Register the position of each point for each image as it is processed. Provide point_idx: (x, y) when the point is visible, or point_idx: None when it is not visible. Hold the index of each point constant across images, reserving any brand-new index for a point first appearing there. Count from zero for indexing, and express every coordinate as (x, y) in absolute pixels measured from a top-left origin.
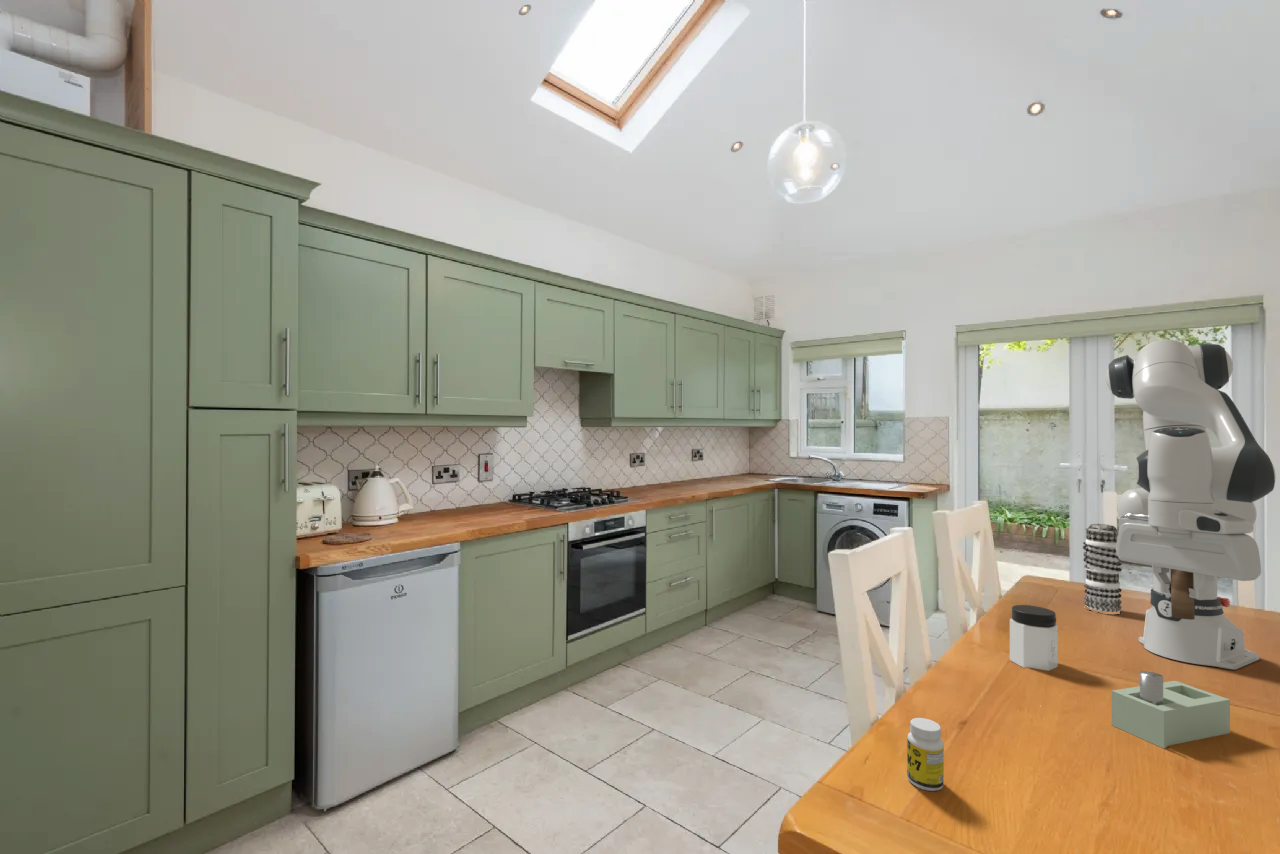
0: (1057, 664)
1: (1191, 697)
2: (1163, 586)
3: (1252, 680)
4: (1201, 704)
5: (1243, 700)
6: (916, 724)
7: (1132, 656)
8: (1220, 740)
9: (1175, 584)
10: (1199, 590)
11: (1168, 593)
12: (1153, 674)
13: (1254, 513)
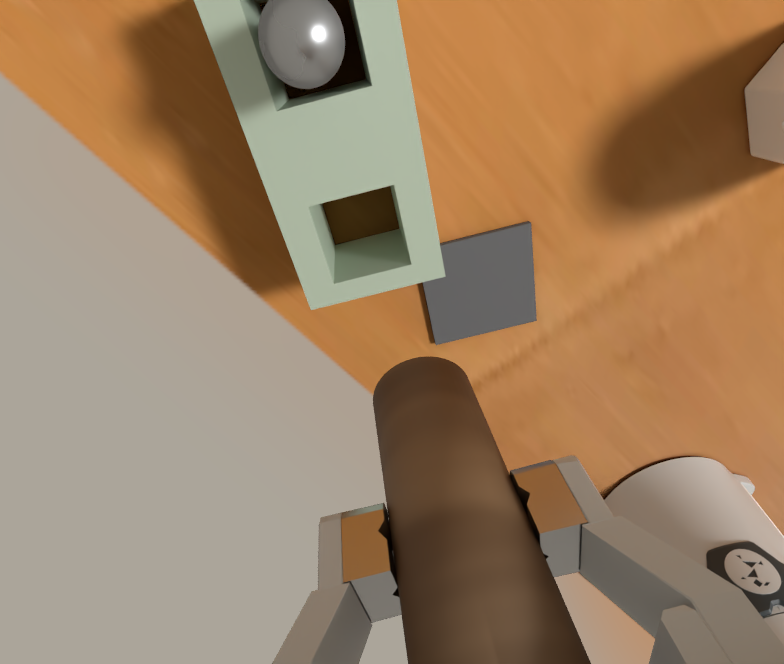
0: (758, 153)
1: (383, 259)
2: (575, 496)
3: None
4: (267, 191)
5: None
6: None
7: (703, 409)
8: None
9: (471, 546)
10: (319, 588)
11: (524, 467)
12: (303, 52)
13: None
